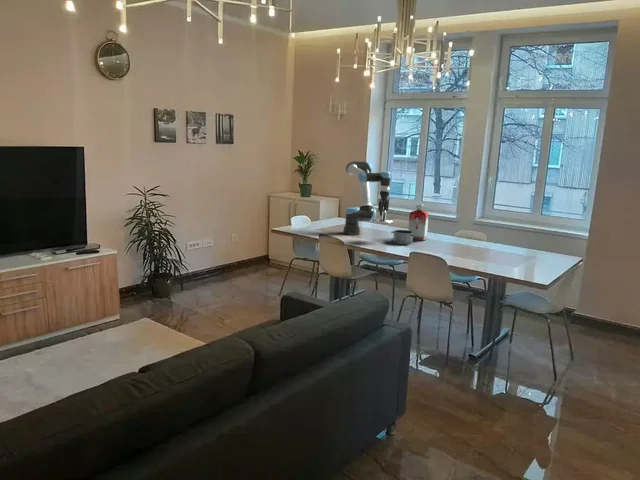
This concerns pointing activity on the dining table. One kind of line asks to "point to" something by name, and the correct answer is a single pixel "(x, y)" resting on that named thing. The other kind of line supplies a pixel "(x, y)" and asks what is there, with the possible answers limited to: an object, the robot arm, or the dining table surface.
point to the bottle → (418, 223)
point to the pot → (403, 237)
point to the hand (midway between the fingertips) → (382, 219)
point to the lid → (384, 221)
